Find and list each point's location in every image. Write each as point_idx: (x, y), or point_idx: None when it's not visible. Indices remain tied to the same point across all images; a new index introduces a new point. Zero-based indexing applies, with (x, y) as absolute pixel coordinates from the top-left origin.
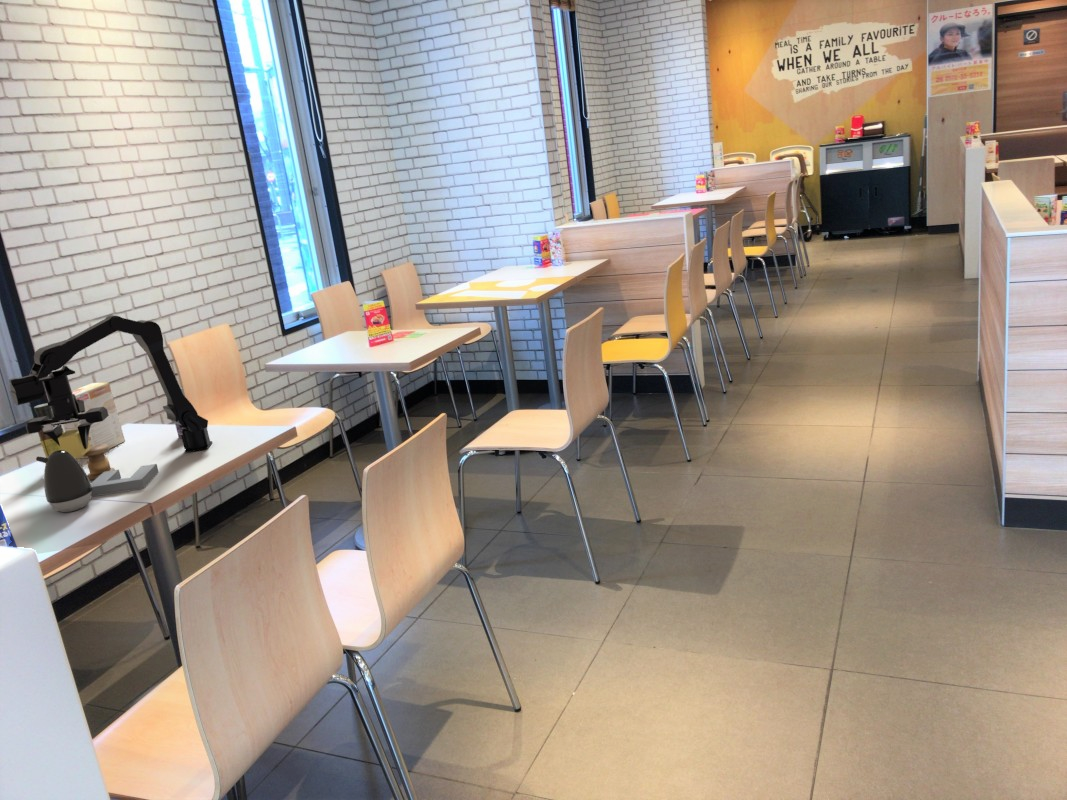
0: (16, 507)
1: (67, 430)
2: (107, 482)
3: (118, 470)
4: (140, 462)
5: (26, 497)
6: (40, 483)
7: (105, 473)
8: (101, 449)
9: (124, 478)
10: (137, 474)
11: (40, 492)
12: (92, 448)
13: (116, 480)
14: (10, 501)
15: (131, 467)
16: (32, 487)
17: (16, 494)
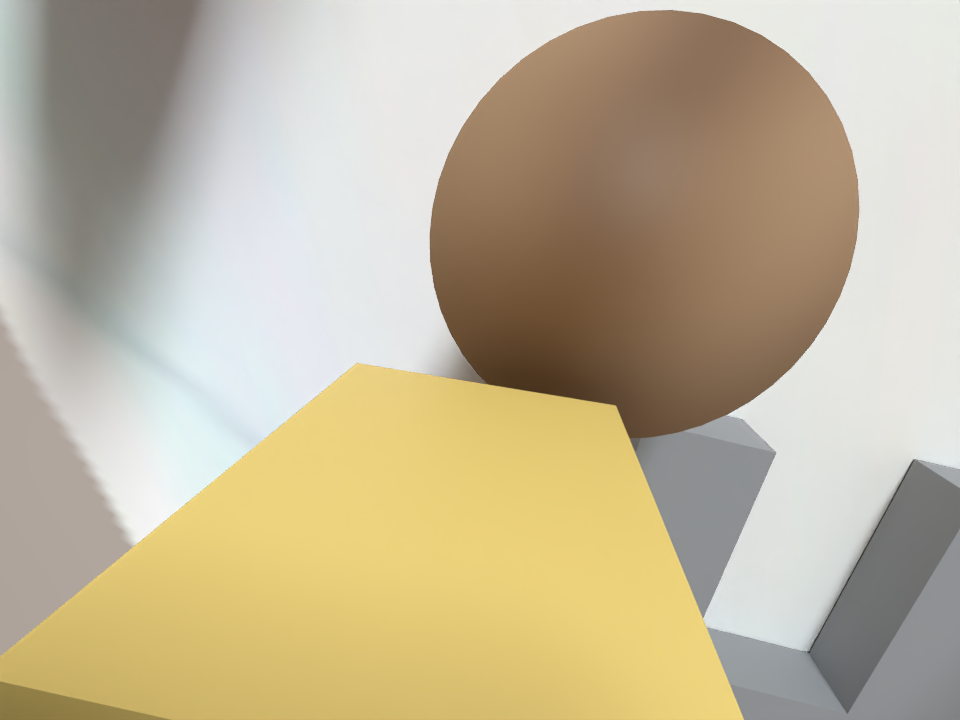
0: (148, 532)
1: (13, 706)
2: None
3: (768, 459)
4: (943, 26)
5: (129, 379)
6: (90, 69)
7: (663, 482)
8: (749, 401)
9: (808, 706)
10: (909, 689)
11: (189, 332)
12: (607, 224)
13: (750, 704)
14: (49, 389)
15: None
16: (67, 147)
17: (16, 253)
